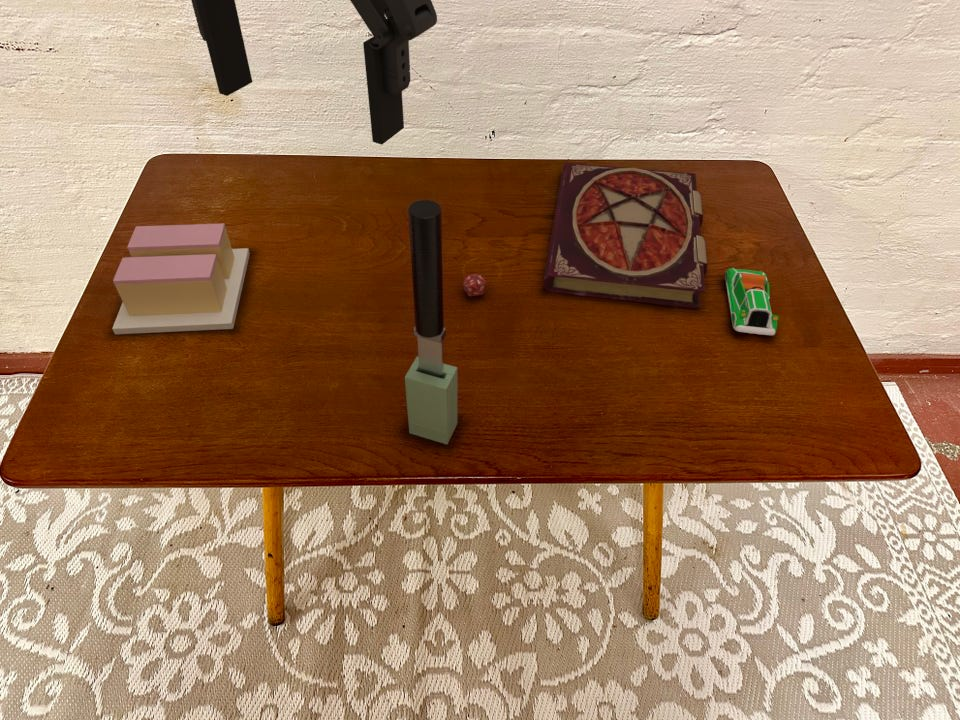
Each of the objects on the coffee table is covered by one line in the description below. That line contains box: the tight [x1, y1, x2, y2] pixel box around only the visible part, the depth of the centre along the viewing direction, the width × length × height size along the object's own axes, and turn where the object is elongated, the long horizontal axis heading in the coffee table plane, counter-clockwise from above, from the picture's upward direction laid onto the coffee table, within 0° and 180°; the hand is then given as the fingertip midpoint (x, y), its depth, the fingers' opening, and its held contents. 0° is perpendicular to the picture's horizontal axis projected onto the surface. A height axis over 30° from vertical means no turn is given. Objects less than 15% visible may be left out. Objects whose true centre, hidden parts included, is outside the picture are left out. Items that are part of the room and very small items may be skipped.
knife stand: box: [404, 355, 459, 445], centre depth 71 cm, size 3×4×9 cm
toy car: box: [724, 266, 780, 336], centre depth 87 cm, size 12×5×4 cm, turn 172°
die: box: [462, 273, 487, 297], centre depth 88 cm, size 3×3×3 cm
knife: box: [407, 199, 447, 379], centre depth 63 cm, size 3×3×26 cm
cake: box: [111, 222, 251, 335], centre depth 86 cm, size 15×14×7 cm
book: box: [542, 162, 708, 310], centre depth 97 cm, size 28×21×5 cm
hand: (309, 110), depth 49 cm, fingers open, 13 cm apart
